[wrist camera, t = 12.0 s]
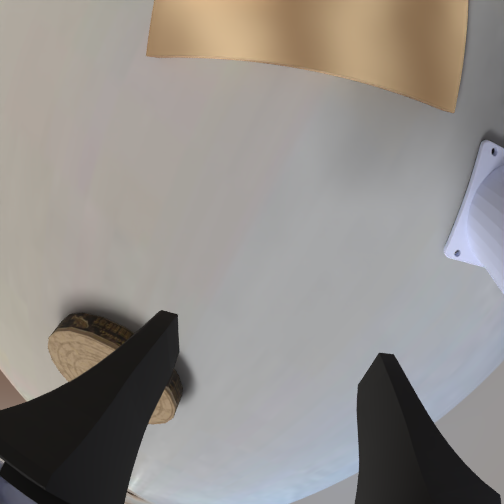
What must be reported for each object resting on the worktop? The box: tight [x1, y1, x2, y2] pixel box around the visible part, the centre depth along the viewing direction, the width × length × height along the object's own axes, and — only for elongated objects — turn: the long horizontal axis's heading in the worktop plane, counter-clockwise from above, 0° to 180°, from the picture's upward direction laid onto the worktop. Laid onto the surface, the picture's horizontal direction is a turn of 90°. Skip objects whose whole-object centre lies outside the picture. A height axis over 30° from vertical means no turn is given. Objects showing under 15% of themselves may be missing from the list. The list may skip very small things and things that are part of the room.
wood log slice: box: [48, 313, 183, 424], centre depth 29 cm, size 16×16×3 cm
